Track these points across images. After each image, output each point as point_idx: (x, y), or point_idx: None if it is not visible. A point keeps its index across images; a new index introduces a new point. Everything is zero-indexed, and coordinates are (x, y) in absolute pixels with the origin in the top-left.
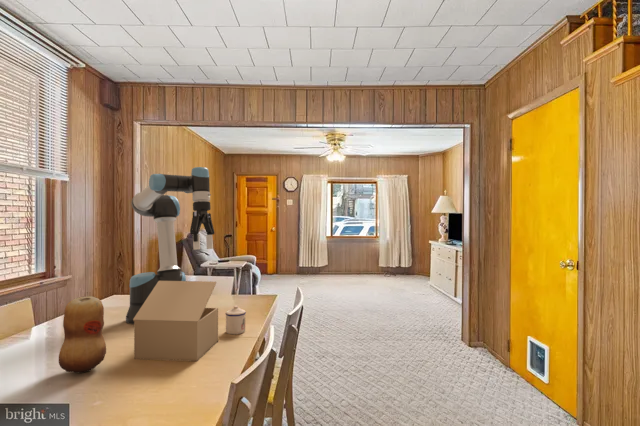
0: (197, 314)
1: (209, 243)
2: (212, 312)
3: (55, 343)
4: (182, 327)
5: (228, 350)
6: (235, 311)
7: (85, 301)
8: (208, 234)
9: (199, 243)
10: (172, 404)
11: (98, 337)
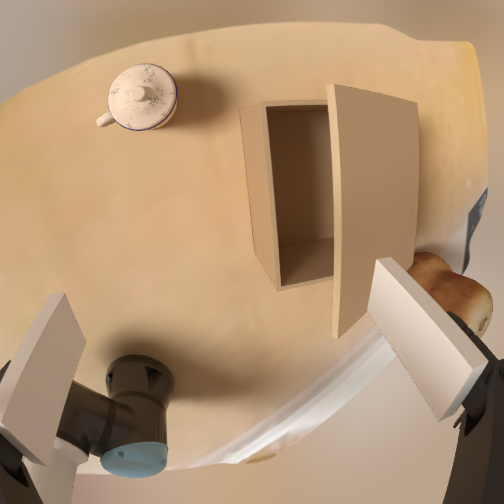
0: (410, 110)
1: (56, 357)
2: (314, 100)
3: (302, 397)
4: None
5: (296, 63)
6: (160, 85)
7: (489, 314)
8: (17, 455)
9: (419, 288)
10: (465, 95)
11: (443, 270)
